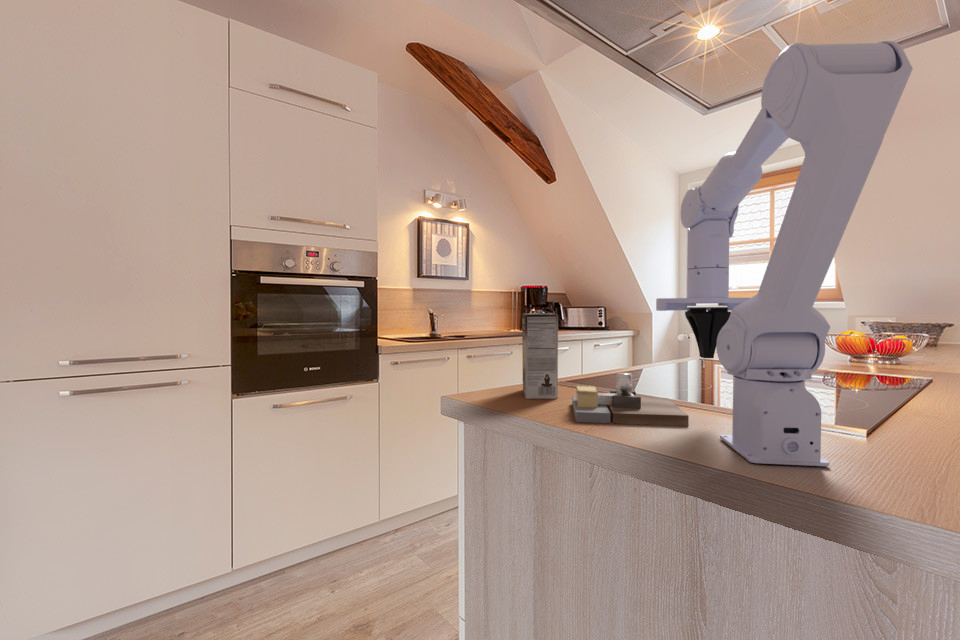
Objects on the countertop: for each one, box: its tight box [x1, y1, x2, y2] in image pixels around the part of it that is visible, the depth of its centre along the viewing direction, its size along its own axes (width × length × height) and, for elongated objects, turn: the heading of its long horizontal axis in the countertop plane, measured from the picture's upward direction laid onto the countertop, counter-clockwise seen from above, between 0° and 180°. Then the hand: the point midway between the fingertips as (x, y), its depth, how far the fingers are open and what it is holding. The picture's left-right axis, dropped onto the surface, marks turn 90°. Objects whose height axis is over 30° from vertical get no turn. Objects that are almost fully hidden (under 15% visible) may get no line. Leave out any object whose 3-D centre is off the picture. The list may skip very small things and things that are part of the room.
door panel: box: [606, 389, 690, 427], centre depth 71 cm, size 12×11×3 cm
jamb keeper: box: [571, 384, 611, 424], centre depth 72 cm, size 12×5×4 cm, turn 171°
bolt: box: [577, 372, 635, 405], centre depth 72 cm, size 2×9×5 cm, turn 81°
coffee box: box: [521, 312, 559, 400], centre depth 87 cm, size 9×6×16 cm
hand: (706, 357), depth 68 cm, fingers closed
